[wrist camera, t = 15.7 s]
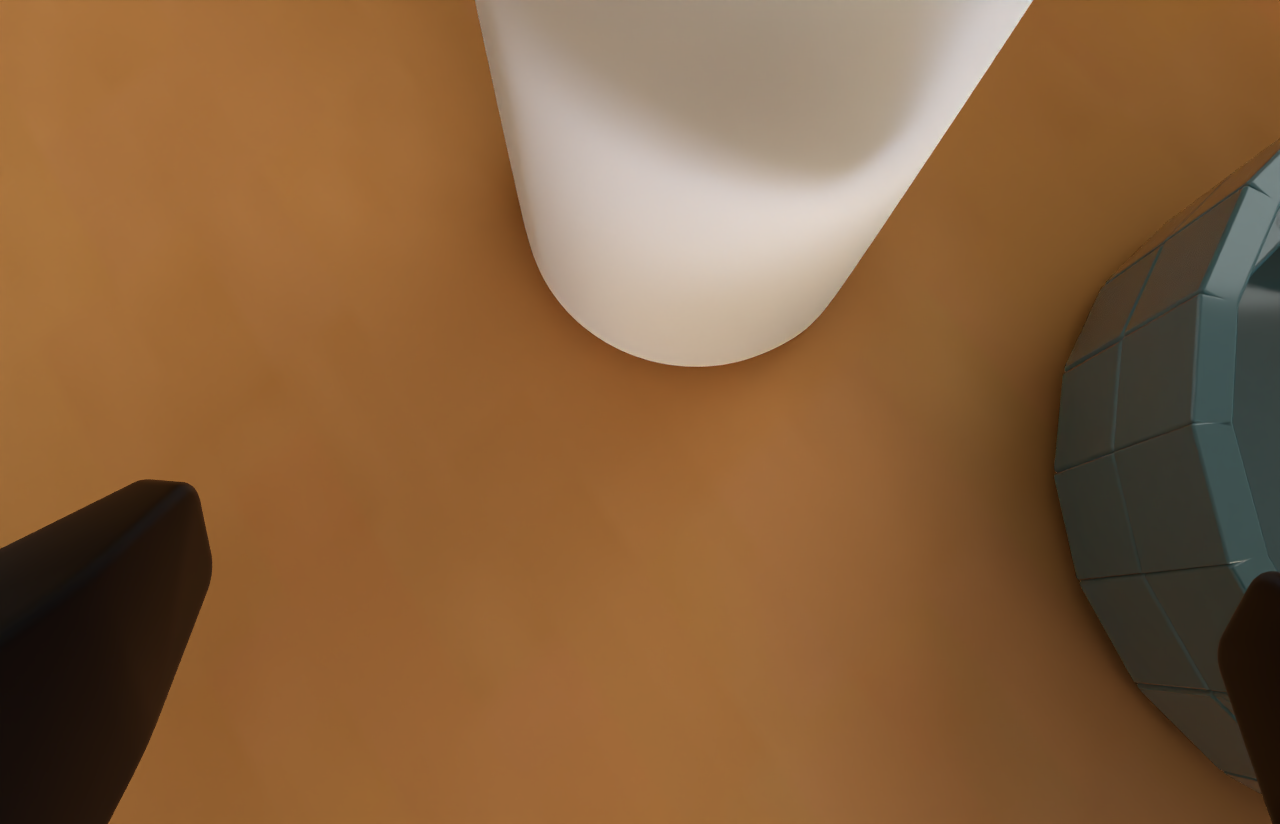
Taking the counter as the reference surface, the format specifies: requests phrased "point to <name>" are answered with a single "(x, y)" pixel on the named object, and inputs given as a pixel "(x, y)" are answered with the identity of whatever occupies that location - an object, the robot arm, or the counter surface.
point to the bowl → (1181, 448)
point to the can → (722, 151)
